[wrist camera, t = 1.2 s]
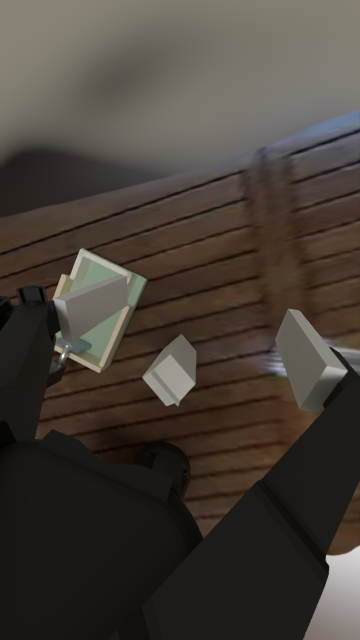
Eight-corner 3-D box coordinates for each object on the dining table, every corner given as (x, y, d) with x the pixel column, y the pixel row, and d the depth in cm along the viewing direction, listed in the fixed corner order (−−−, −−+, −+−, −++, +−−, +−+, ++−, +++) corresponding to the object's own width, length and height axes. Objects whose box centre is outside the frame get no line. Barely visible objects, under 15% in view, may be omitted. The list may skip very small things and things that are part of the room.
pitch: (109, 365, 49) (99, 373, 44) (52, 335, 50) (34, 339, 45) (147, 279, 46) (141, 276, 41) (85, 249, 47) (71, 242, 42)
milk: (181, 333, 46) (167, 359, 25) (196, 351, 46) (196, 393, 25) (163, 348, 47) (134, 386, 25) (178, 366, 47) (162, 419, 25)
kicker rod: (78, 375, 48) (19, 411, 32) (58, 365, 48) (-10, 396, 32) (91, 344, 47) (36, 366, 31) (71, 334, 47) (6, 350, 31)
